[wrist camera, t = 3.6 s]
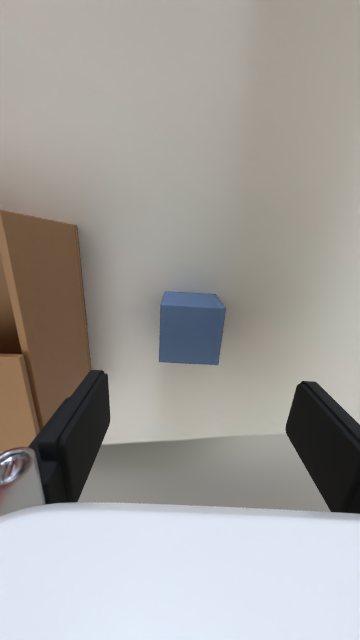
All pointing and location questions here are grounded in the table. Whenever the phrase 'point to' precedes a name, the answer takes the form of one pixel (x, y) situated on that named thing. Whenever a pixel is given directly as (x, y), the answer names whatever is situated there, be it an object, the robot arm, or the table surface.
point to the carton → (38, 323)
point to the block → (191, 328)
